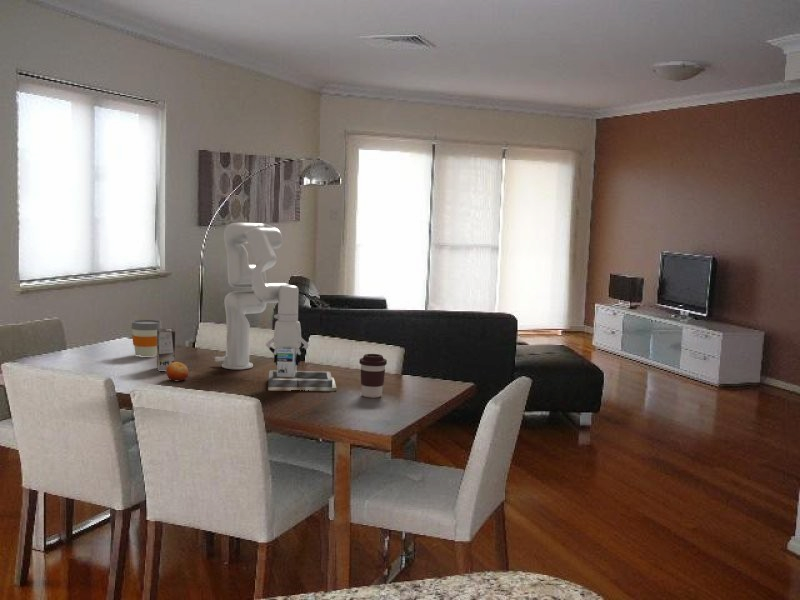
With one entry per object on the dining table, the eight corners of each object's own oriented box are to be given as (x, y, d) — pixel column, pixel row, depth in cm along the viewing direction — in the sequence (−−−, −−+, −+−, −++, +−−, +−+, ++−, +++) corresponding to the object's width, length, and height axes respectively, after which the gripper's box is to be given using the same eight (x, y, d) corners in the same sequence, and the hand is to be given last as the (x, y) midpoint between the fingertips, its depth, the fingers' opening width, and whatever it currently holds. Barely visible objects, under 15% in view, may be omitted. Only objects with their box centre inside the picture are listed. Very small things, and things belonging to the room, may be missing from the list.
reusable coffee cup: (126, 357, 345) (127, 323, 343) (137, 352, 357) (137, 319, 355) (155, 359, 344) (156, 324, 343) (165, 354, 357) (165, 320, 355)
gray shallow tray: (268, 390, 296) (268, 380, 296) (269, 379, 314) (269, 370, 314) (336, 390, 300) (336, 381, 300) (333, 380, 318) (333, 371, 317)
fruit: (173, 372, 312) (181, 356, 310) (186, 385, 310) (194, 369, 307) (157, 376, 306) (165, 359, 303) (170, 389, 303) (178, 373, 300)
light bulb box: (294, 377, 301) (295, 349, 299) (276, 377, 300) (276, 348, 299) (296, 371, 311) (297, 344, 310) (279, 371, 311) (279, 343, 310)
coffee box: (175, 371, 322) (175, 331, 320) (158, 372, 319) (158, 331, 318) (172, 366, 330) (173, 328, 328) (156, 367, 328) (156, 328, 326)
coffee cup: (361, 399, 289) (363, 358, 287) (355, 392, 298) (356, 352, 297) (388, 398, 292) (390, 357, 290) (381, 392, 301) (382, 352, 299)
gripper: (264, 319, 298) (263, 366, 300) (311, 319, 301) (310, 366, 303) (264, 316, 306) (263, 362, 308) (310, 317, 308) (309, 363, 310)
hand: (287, 364), depth 305 cm, fingers closed on light bulb box, 7 cm apart
